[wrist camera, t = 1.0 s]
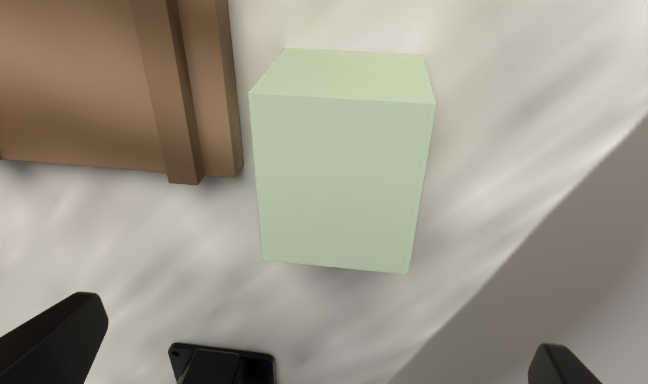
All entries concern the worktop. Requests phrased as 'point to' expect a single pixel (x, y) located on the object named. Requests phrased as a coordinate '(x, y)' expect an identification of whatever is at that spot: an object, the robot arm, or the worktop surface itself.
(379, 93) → the block
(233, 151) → the channel board
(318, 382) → the worktop surface
